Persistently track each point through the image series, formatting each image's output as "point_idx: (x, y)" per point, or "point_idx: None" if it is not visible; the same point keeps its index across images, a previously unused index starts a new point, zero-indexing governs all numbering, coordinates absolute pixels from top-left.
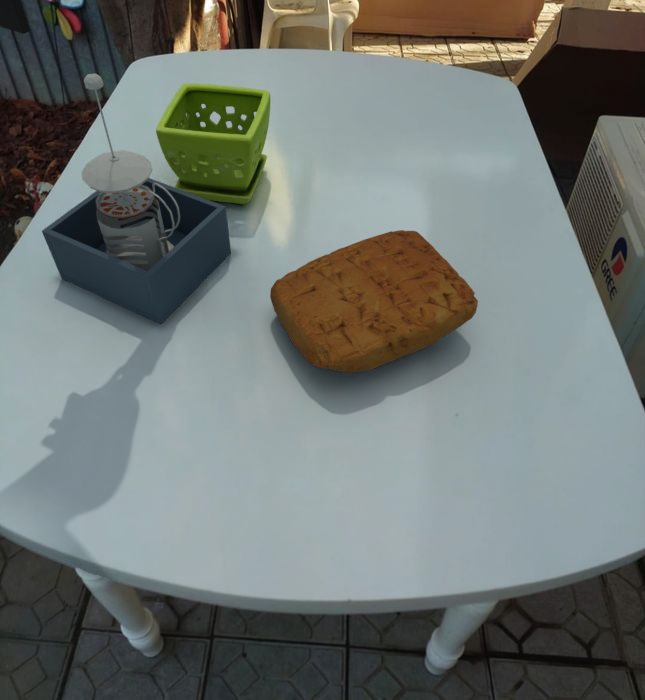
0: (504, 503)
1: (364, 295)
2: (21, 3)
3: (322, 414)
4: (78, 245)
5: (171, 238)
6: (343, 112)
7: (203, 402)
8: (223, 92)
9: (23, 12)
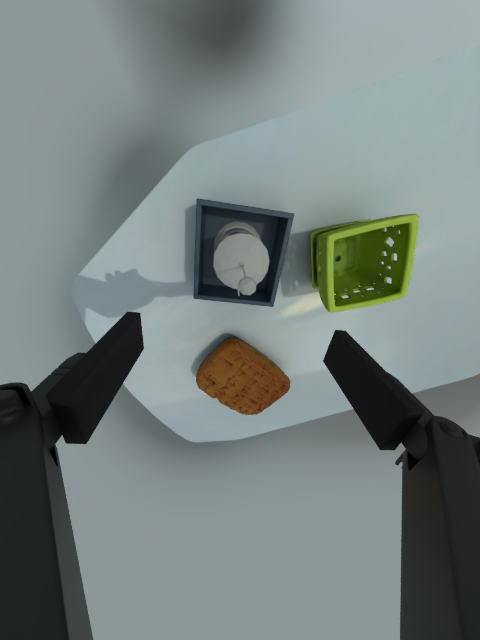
0: (185, 418)
1: (233, 387)
2: (130, 369)
3: (188, 367)
4: (196, 238)
5: None
6: (443, 295)
7: (167, 326)
8: (405, 257)
9: (134, 361)
